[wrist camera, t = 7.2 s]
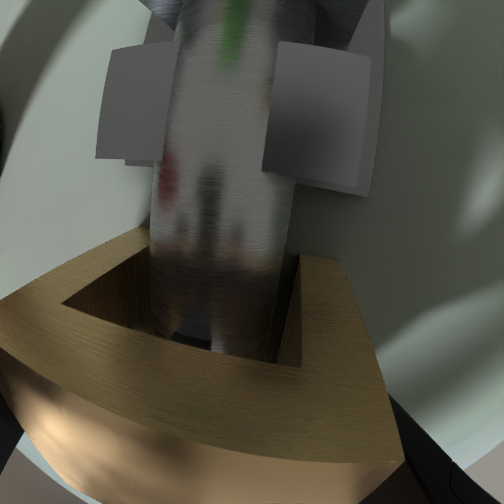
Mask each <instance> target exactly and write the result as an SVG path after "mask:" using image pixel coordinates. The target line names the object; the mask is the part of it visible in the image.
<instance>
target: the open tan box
mask: <svg viewBox="0 0 504 504" xmlns="http://www.w3.org/2000/svg"><path fill="white" fill-rule="evenodd" d="M0 392H1V394H2V395H3V397H4V399H5V401H6V402H7V404H8V406H9V408H10V409H11V411H12V412H13V414H14V416H15V417H16V419H17V420H18V422H19V423H20V425H21V426H22V428H23V429H24V431H25V432H26V434H27V435H28V437H29V438H30V439H31V441H32V442H33V444H34V445H35V446H36V448H37V449H38V450H39V451H40V453H41V454H42V455H43V457H44V458H45V459H46V460H47V462H48V463H49V464H50V465H51V466H52V468H53V469H54V470H55V471H56V472H57V473H58V474H59V476H60V477H61V478H62V479H63V480H64V481H65V482H66V483H67V484H69V485H70V486H72V487H73V488H75V489H77V490H79V491H80V492H82V493H84V494H85V495H87V496H89V497H91V498H93V499H95V500H97V501H98V502H100V503H102V504H358V503H359V502H361V501H362V500H363V499H364V498H365V497H367V496H368V495H369V494H370V493H371V492H372V491H374V490H375V489H376V488H377V487H378V486H379V485H380V484H381V483H383V482H384V481H385V480H386V479H387V478H388V477H389V476H390V475H391V474H392V473H393V472H394V471H395V470H396V469H397V468H398V467H399V466H400V465H401V464H402V463H403V462H404V461H405V457H404V452H403V448H402V444H401V440H400V436H399V432H398V428H397V424H396V421H395V417H394V413H393V410H392V406H391V403H390V399H389V396H388V393H387V389H386V386H385V383H384V380H383V377H382V373H381V370H380V367H379V364H378V361H377V358H376V355H375V352H374V349H373V346H372V343H371V341H370V338H369V335H368V332H367V329H366V327H365V324H364V321H363V318H362V316H361V313H360V310H359V308H358V305H357V303H356V300H355V297H354V295H353V292H352V290H351V287H350V285H349V282H348V280H347V277H346V275H345V272H344V270H343V268H342V265H341V263H340V261H339V260H334V259H328V258H322V257H316V256H311V255H305V254H300V257H299V262H298V267H297V272H296V277H295V282H294V287H293V291H292V296H291V301H290V306H289V310H288V315H287V319H286V324H285V328H284V332H283V337H282V341H281V345H280V350H279V354H278V358H277V362H276V364H273V363H268V362H262V361H256V360H251V359H246V358H241V357H236V356H231V355H227V354H222V353H217V352H213V351H209V350H204V349H200V348H196V347H192V346H188V345H184V344H181V343H177V342H173V341H169V340H166V339H162V338H159V337H155V336H152V326H151V306H150V228H144V227H137V228H134V229H132V230H130V231H128V232H126V233H124V234H122V235H120V236H118V237H115V238H113V239H111V240H109V241H107V242H105V243H103V244H101V245H99V246H97V247H95V248H93V249H91V250H89V251H87V252H85V253H83V254H81V255H79V256H77V257H76V258H74V259H72V260H70V261H68V262H66V263H64V264H62V265H60V266H59V267H57V268H55V269H53V270H51V271H49V272H48V273H46V274H44V275H42V276H40V277H39V278H37V279H35V280H33V281H32V282H30V283H28V284H26V285H25V286H23V287H21V288H20V289H18V290H16V291H15V292H13V293H11V294H10V295H8V296H6V297H5V298H3V299H1V300H0Z"/></svg>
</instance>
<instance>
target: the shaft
mask: <svg viewBox="0 0 504 504" xmlns="http://www.w3.org/2000/svg"><path fill="white" fill-rule="evenodd" d="M139 1H140V2H141V3H142V4H144V5H145V6H146V7H147V8H148V9H150V10H151V11H152V15H151V18H150V22H149V25H148V29H147V33H146V37H145V41H144V45H137V46H131V47H126V48H121V49H115V50H112V53H111V57H110V62H109V66H108V71H107V76H106V81H105V86H104V92H103V98H102V104H101V111H100V118H99V126H98V135H97V145H96V157H95V159H125V165H129V166H147V167H154V168H153V181H152V196H151V216H150V306H151V326H152V336H155V337H159V338H162V339H166V340H169V341H173V342H177V343H181V344H184V345H188V346H192V347H196V348H200V349H204V350H209V351H213V352H217V353H222V354H227V355H231V356H236V357H241V358H246V359H251V360H256V361H262V362H263V361H264V356H265V351H266V346H267V341H268V336H269V331H270V326H271V321H272V316H273V311H274V306H275V300H276V295H277V290H278V284H279V279H280V273H281V267H282V262H283V256H284V250H285V245H286V239H287V233H288V227H289V221H290V215H291V208H292V202H293V196H294V189H295V184H301V185H307V186H312V187H318V188H323V189H329V190H334V191H339V192H344V193H349V194H354V195H358V196H363V197H369V192H370V186H371V181H372V175H373V169H374V162H375V155H376V148H377V141H378V133H379V124H380V115H381V104H382V92H383V77H384V55H385V10H384V0H139Z"/></svg>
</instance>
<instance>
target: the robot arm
mask: <svg viewBox="0 0 504 504" xmlns="http://www.w3.org/2000/svg"><path fill="white" fill-rule="evenodd" d="M387 393H388V392H387ZM388 396H389V399H390V403H391V406H392V410H393V413H394V417H395V421H396V424H397V428H398V432H399V436H400V440H401V444H402V448H403V452H404V457H405V461H404V462H403V463H402V464H401V465H400V466H399V467H398V468H397V469H396V470H395V471H394V472H393V473H392V474H391V475H390V476H389V477H388V478H387V479H386V480H385V481H384V482H383V483H381V484H380V485H379V486H378V487H377V488H376V489H375V490H374V491H372V492H371V493H370V494H369V495H368V496H367V497H365V498H364V499H363V500H362V501H361V502H359V503H358V504H501V503H500V502H499V501H497V500H496V499H495V498H494V497H492V496H491V495H490V494H489V493H487V492H486V491H485V490H484V489H482V488H481V487H480V486H479V485H478V484H477V483H475V482H474V481H473V480H472V479H471V478H470V477H469V476H468V475H467V474H466V473H465V472H464V471H463V470H462V469H461V468H460V467H459V466H458V465H457V464H456V463H455V462H452V459H451V458H450V457H449V456H448V455H447V454H446V453H445V452H444V451H443V450H442V449H441V447H440V446H439V445H438V444H437V443H436V442H435V441H434V440H433V439H432V438H431V437H430V436H429V435H428V434H427V433H426V432H425V431H424V430H423V429H422V428H421V427H420V426H419V425H418V424H417V423H416V422H415V420H414V419H413V418H412V417H411V416H410V415H409V414H408V413H407V412H406V411H405V410H404V409H403V408H402V407H401V406H400V405H399V404H398V403H397V402H396V401H395V400H394V399H393V398H392V397H391V396H390V395H389V394H388ZM24 432H25V431H24V429H23V428H22V426H21V425H20V423H19V422H18V420H17V419H16V417H15V416H14V414H13V412H12V411H11V409H10V408H9V406H8V404H7V402H6V401H5V399H4V397H3V395H2V394H1V392H0V474H1V472H2V471H3V469H4V466H5V465H6V463H7V461H8V459H9V457H10V456H11V454H12V452H13V450H14V449H15V447H16V445H17V443H18V442H19V440H20V438H21V437H22V435H23V433H24Z"/></svg>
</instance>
